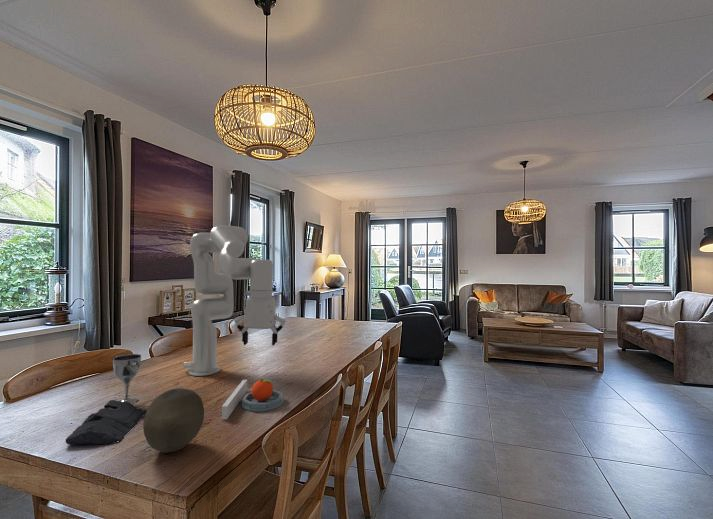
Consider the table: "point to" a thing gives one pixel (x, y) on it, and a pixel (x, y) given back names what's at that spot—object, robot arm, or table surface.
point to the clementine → (262, 390)
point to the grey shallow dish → (262, 402)
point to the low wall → (234, 400)
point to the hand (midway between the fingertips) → (259, 344)
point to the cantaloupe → (173, 419)
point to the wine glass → (127, 371)
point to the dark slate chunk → (107, 424)
